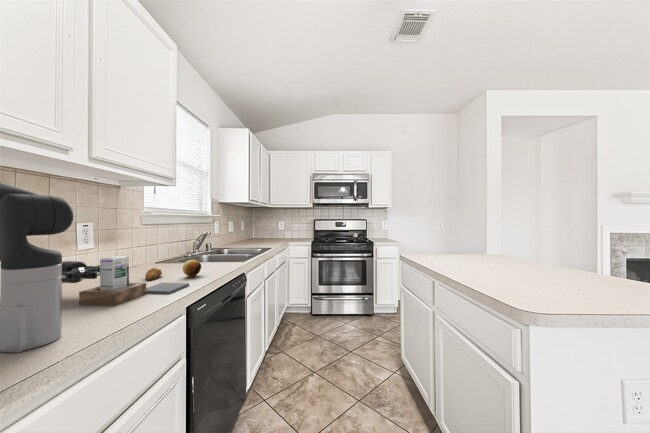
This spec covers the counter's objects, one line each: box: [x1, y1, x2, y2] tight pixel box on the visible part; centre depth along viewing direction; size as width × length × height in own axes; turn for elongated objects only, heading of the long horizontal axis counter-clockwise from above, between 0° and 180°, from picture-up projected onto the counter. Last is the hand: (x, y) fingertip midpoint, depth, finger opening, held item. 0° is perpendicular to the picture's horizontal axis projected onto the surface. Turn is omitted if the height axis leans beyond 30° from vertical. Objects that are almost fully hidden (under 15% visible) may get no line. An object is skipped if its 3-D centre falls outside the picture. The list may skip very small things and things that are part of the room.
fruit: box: [182, 259, 202, 278], centre depth 125 cm, size 8×8×8 cm
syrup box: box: [99, 255, 130, 291], centre depth 91 cm, size 6×6×14 cm
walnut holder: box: [78, 282, 147, 306], centre depth 91 cm, size 13×13×4 cm
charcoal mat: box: [146, 282, 190, 295], centre depth 103 cm, size 12×12×1 cm
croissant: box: [144, 267, 163, 282], centre depth 123 cm, size 14×7×5 cm, turn 18°
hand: (108, 272), depth 91 cm, fingers open, 8 cm apart
